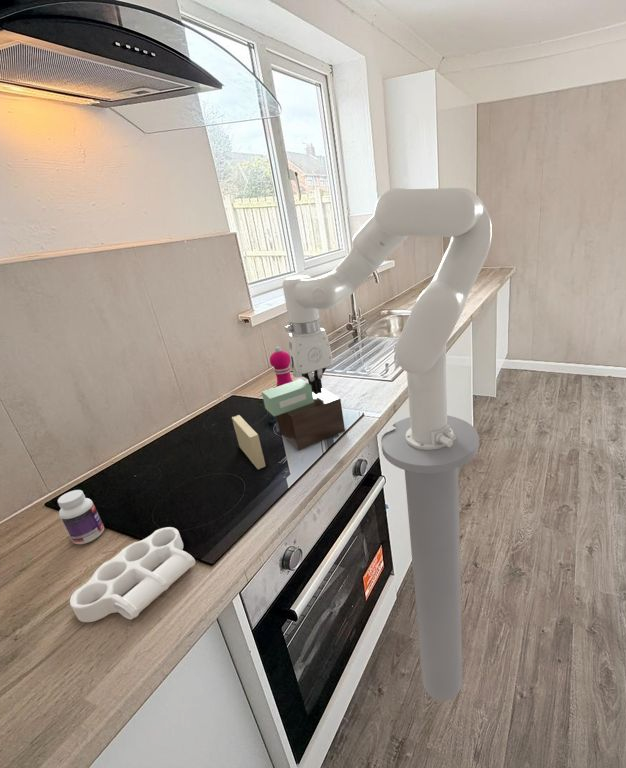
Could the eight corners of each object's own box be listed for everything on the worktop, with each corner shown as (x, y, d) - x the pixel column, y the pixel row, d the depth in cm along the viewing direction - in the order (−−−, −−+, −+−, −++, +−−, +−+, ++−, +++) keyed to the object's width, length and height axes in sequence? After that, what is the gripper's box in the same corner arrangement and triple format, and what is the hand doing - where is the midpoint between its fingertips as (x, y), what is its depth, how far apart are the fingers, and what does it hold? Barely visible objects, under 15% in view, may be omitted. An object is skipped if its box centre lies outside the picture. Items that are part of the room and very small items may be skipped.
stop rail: (266, 466, 100) (258, 434, 97) (258, 469, 99) (249, 437, 96) (247, 444, 111) (239, 414, 107) (239, 447, 110) (231, 417, 106)
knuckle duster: (115, 643, 61) (60, 609, 67) (212, 554, 75) (160, 533, 82) (106, 627, 59) (51, 594, 66) (207, 540, 74) (154, 519, 80)
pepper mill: (274, 412, 127) (260, 351, 119) (283, 401, 134) (271, 343, 126) (296, 412, 126) (284, 350, 118) (304, 401, 133) (293, 342, 125)
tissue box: (304, 395, 113) (301, 378, 111) (314, 402, 108) (311, 385, 106) (265, 408, 107) (261, 391, 105) (274, 416, 102) (270, 398, 100)
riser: (345, 431, 113) (340, 398, 109) (298, 450, 106) (291, 416, 102) (324, 416, 122) (319, 385, 118) (280, 433, 115) (273, 401, 111)
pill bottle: (109, 531, 83) (91, 492, 79) (79, 549, 79) (58, 509, 75) (98, 522, 86) (80, 484, 82) (68, 538, 82) (48, 499, 78)
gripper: (283, 336, 97) (296, 405, 105) (338, 322, 105) (347, 388, 113) (271, 330, 103) (285, 396, 110) (325, 317, 111) (334, 380, 118)
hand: (316, 392), depth 111 cm, fingers closed
